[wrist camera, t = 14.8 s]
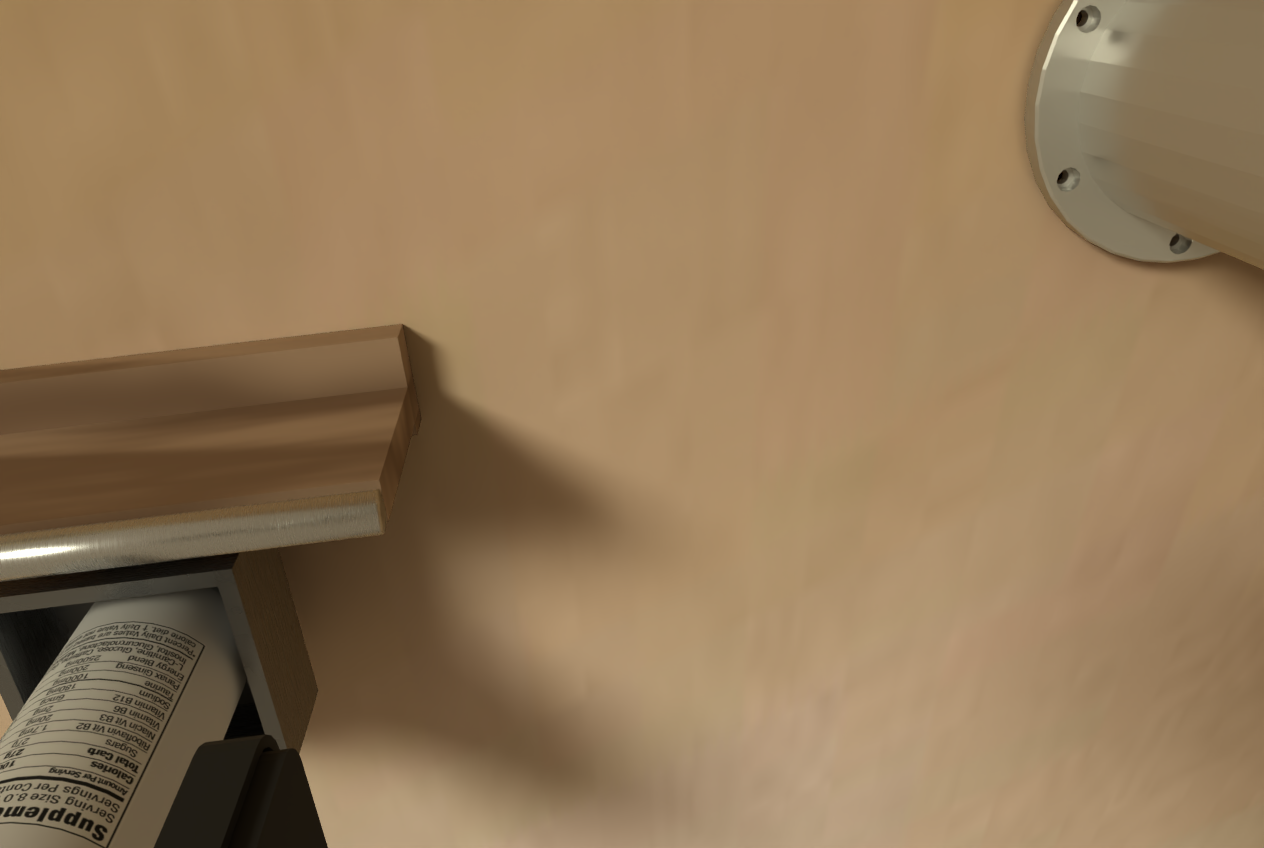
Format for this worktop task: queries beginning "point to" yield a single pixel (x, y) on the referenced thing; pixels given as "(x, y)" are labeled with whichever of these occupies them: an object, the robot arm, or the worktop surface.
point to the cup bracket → (195, 493)
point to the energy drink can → (119, 722)
